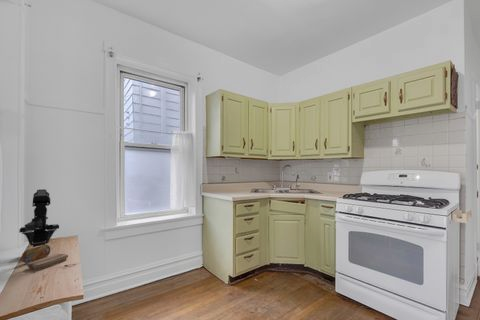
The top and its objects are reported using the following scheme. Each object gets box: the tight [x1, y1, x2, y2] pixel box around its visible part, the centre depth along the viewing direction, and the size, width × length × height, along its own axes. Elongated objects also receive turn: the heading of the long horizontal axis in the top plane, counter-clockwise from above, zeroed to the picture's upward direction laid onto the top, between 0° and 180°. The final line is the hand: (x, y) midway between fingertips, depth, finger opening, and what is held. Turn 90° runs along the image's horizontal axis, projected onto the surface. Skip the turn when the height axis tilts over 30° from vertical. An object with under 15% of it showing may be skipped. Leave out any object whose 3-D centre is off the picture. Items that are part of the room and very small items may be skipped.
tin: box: [21, 244, 51, 264], centre depth 144 cm, size 15×3×8 cm, turn 168°
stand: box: [26, 253, 69, 271], centre depth 139 cm, size 8×17×3 cm, turn 165°
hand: (38, 243), depth 141 cm, fingers open, 9 cm apart
